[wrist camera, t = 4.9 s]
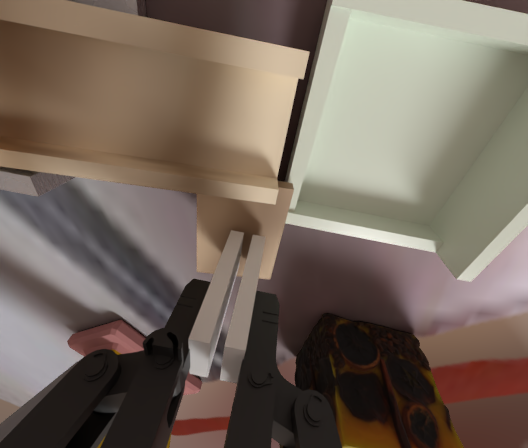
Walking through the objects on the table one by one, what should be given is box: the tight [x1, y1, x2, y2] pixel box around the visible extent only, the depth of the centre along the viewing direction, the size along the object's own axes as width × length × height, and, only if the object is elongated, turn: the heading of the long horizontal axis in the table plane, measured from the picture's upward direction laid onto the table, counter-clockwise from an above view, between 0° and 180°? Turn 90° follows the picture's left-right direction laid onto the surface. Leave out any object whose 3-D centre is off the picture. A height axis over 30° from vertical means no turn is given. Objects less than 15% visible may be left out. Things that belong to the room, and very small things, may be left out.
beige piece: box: [0, 0, 310, 279], centre depth 11 cm, size 25×13×4 cm, turn 81°
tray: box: [285, 0, 528, 282], centre depth 12 cm, size 11×11×5 cm
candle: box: [295, 314, 464, 448], centre depth 22 cm, size 10×10×10 cm
